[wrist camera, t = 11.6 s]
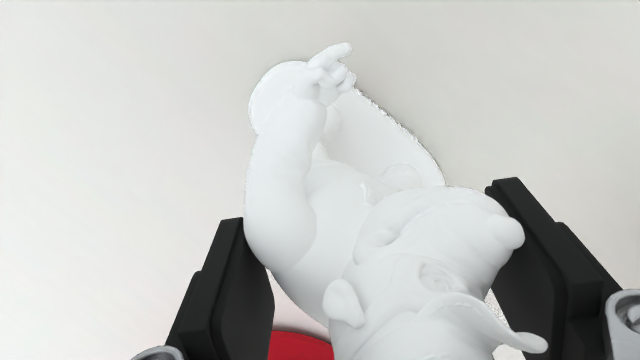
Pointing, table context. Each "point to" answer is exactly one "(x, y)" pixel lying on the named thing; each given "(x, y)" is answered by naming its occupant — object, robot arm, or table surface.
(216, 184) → the table surface
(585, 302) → the robot arm
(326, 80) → the figurine
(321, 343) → the alarm clock
